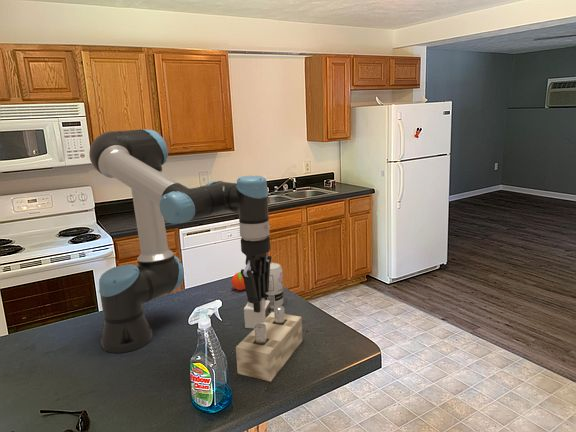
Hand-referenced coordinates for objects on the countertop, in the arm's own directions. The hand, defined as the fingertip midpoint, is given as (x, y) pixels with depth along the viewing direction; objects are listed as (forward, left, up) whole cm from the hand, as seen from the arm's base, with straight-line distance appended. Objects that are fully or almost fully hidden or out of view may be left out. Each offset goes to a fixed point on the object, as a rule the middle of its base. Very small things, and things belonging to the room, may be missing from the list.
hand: (260, 321), depth 115 cm
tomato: (-33, +45, -14) cm, 58 cm away
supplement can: (-15, +37, -14) cm, 42 cm away
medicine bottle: (-13, +22, -14) cm, 29 cm away
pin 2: (0, +12, -9) cm, 15 cm away
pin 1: (0, 0, -9) cm, 9 cm away
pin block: (0, +6, -14) cm, 15 cm away
